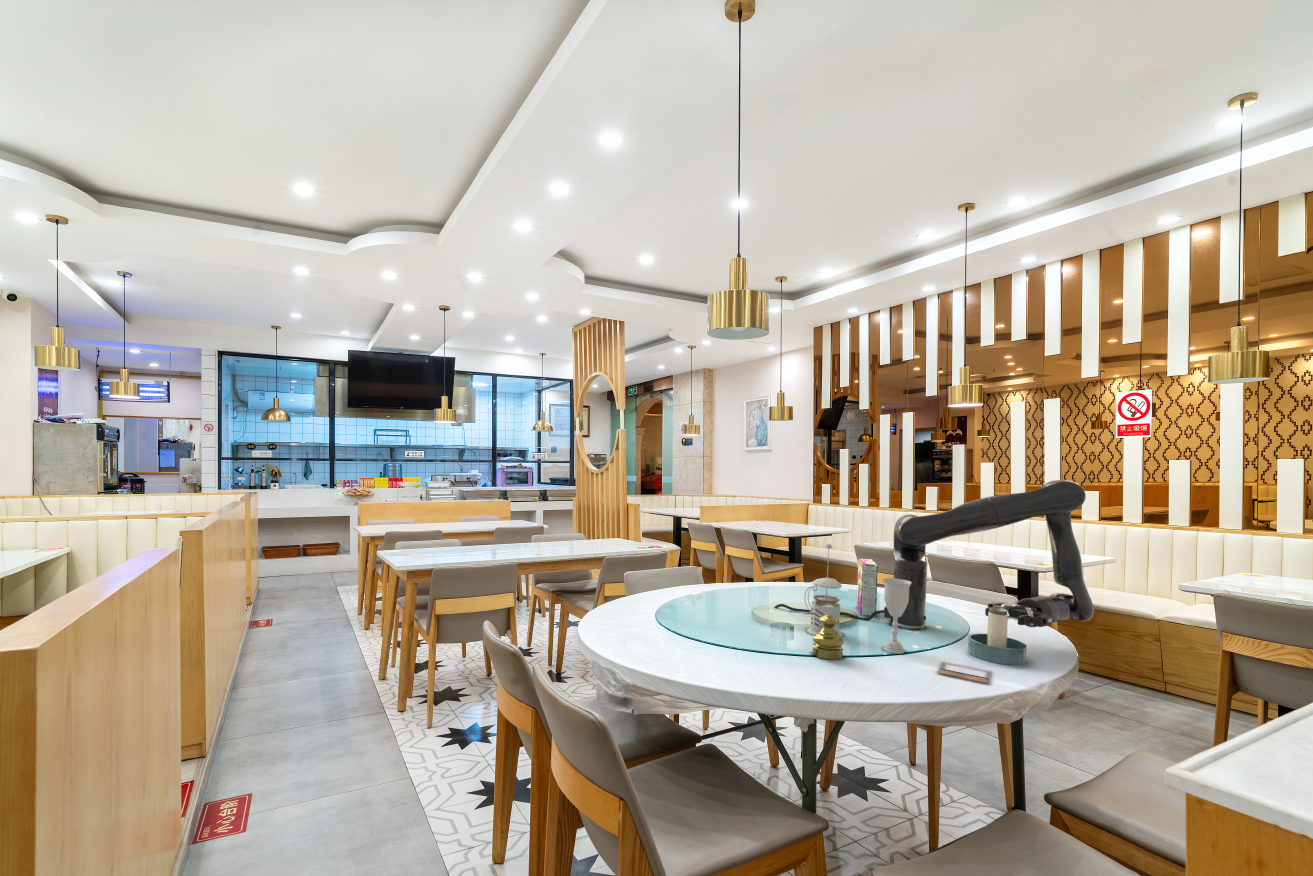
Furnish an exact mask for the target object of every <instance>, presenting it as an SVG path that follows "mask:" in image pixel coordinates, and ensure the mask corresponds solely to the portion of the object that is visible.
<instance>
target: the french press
mask: <svg viewBox="0 0 1313 876" xmlns="http://www.w3.org/2000/svg"><path fill="white" fill-rule="evenodd" d="M825 548H826V549H827V563H829V560H830V559H829V558H830V549H832V548H833V545H832V544H831V543H826V544H825ZM826 569H827V571H826V577H821V578H816V579H814V580H813V581H812V585H811V586H809V587H808V588H806V590H805V592H804V598H803V599H804V600H803V601H804V604H805V608H806V609H807V610H809V611H811V610H812V611H811V612H810V613H811V616H810V617H811V618H810V627H808V628H807V630H806V632H807V633H808V634H810V635H812V636H814V634H816V633H819V631H820V630H821V629H823V625H822V623H821V622H820V621H819V618H820V617H822V616H825V615H826V614H830V615H833V617H836V618H837V619H838V620H839V621H840V618H841V615H840V612H841V604H840V603H838V602H840V599H839V597H837V596H832V595H828V589H835V590H837V589H841V588H843V584H841V583H840V582H839V581H837V580H835V579H833V578H830V577H829V566H827V568H826ZM818 587H819V588H824V589H825V590H826V592H825V595H824V594H816V595H813V596H812V598H813V599H814V600H813V601H811V603H810V598H809V597H810V591H811V590H812V591H813V592H816V591H818ZM806 594H807V602H806ZM807 603H808V605H807ZM808 606H809V607H808ZM834 630H835V631H836V632H837V633H838V635H839V636H841V637H842V638H843V636H844V635H843V633H842V632H841V631H840V622H839V623H838V624H837V625H836V626H835V627H834Z"/></svg>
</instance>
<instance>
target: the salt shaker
mask: <svg viewBox="0 0 1313 876" xmlns="http://www.w3.org/2000/svg"><path fill="white" fill-rule="evenodd" d="M819 621H820V622H821V623H822V625H823V629H821V630H820V631H819V633H816V634H814V635H812V641H813V644H812V645H811V646H812V652H811V653H812V655H814V656H815V657H817V658H819V659H823V660H831V661H837V660H840V659H843V656H844V648H843V647H842V646H843V645H844V642H845V641H844V639H843V636H842V637H841V636H839V635H838V633H837V632H836V631H835V630H834V627H835V626H836V625H837V624H838V623H839V624H840V620H838V619H837V618H836V617H833V615H830V614H824V615H823V616H822V617H820V618H819Z"/></svg>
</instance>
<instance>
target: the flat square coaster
mask: <svg viewBox="0 0 1313 876" xmlns="http://www.w3.org/2000/svg"><path fill="white" fill-rule="evenodd" d="M938 675H940V676H946V677H950V678H955V679H959V680H965V681H970V682H975V683H978V684H984V685H988V682H989V678H988V677H984V676H980V675H975V674H970V673H965V672H961V671H957V670H951V669H946V668H940V669H939V671H938Z"/></svg>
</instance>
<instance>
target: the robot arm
mask: <svg viewBox="0 0 1313 876" xmlns="http://www.w3.org/2000/svg"><path fill="white" fill-rule="evenodd" d="M1086 495H1087V493H1086V491H1085V488H1084V487H1083V486H1081V484H1079V483H1077V482H1075V481H1073V480H1068V479H1056V480H1050V481H1048V482H1046V483H1045V484H1043V486H1041V487H1039V488H1037V489H1034V490H1029V491H1025V492H1017V493H1016V492H1015V493H1005V494H998V495H991V496H987V497H982V498H978V499H974V500H970V501H968V502H965V503H962V504H960V505H958V506H955V507H952V508H950V509H949V510H946V511H943V512H939V513H933V514H927V515H919V516H918V515H915V514H904V515H902V516H900V517H899V518H898V519H897V520H896V522H895V524H894V528H893V551H892V553H893V579H902V580H907V581H910V582H911V585H910V587H909V602H908V604H907V607H906V609H905V611H904V612H903V614H902V616H900V617H898V619H897V623H898V626H897V628H902V629H907V630H921V629H924V628H925V627H926V621H927V616H926V604H927V603H926V602H927V581H928V560H927V554H926V553H927V552H926V547H927V546H926V545H929V544H932V543H934V542H937V541H940V540H944V539H946V538H951V537H955V536H963V535H969V534H974V533H981V532H986V531H989V530H994V529H998V528H1002V527H1005V526H1010V525H1013V524H1016V523H1019V522H1023V521H1026V520H1029V519H1032V518H1036V517H1041V516H1044V517H1045V521H1046V526H1047V530H1048V535H1049V541H1050V542H1049V543H1050V551H1051V560H1052V561H1051V562H1052V572H1053V579H1054V583H1056V585H1059V586H1062V587H1065V588H1067V589H1069V591H1070V592H1071V593H1063V592H1057V593H1056V592H1055V593H1052V594H1050V595H1048V596H1035V597H1026V598H1022V599H1020V600H1019V601H1017V603H1016V604H1015V603H1013V604H1005V603H1004V602H1002V601H1001V602H992V603H991V602H990V603H987V607H986V608H985V610H984V614H985V616H986V617H988V612H989V608H992V607H994V608H1001V609H1005V610H1007V614H1008V620H1014V621H1017V625H1019V626H1025V627H1028V628H1037V627H1038V628H1043V627H1049V626H1052V625H1053V624H1056V623H1061V622H1064V621H1066V620H1070V621H1071V620H1072V621H1077V622H1078V621H1079V622H1088V621H1090V620H1091V619H1092V618H1093V616H1094V612H1095V606H1094V602H1093V600H1092V597H1091V595H1090V593H1089V591H1088V587H1087V585H1086V582H1085V580H1084V572H1083V562H1082V556H1081V552H1080V548H1079V545H1078V543H1077V539H1076V538H1075V534H1074V530H1073V525H1072V512H1075V511H1076V510H1078V509H1080V508H1081V507H1082V506H1083V505H1084V503H1085V501H1086V498H1087V497H1086ZM781 607H782V608H785V609H787V610H789V611H793V612H800V613H811V611H812V609H810V610H811V611H809V610H808V608H805V609H804V608H796V607H792V606H790V605H787V604H784V603H779V604H776V605H775V606H773V608H774V609H779V608H781ZM878 614H883V618H884V619H889V625H891V626H893V625H892V623H893V620H894V619H893V616H891V615H890V614H889V611H888V609H887V607H886V605H885V606H884V608H883V609H880V610H876V612H873V613H872V614H871V616H866V617H861V616H858V615H855V614H852V613H849V612H844V611H840V616H846V617H850V618H853V619H857V620H861V621H870V620H872V619H873V618H874V617H873V616H874V615H876V616H877V615H878Z"/></svg>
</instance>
